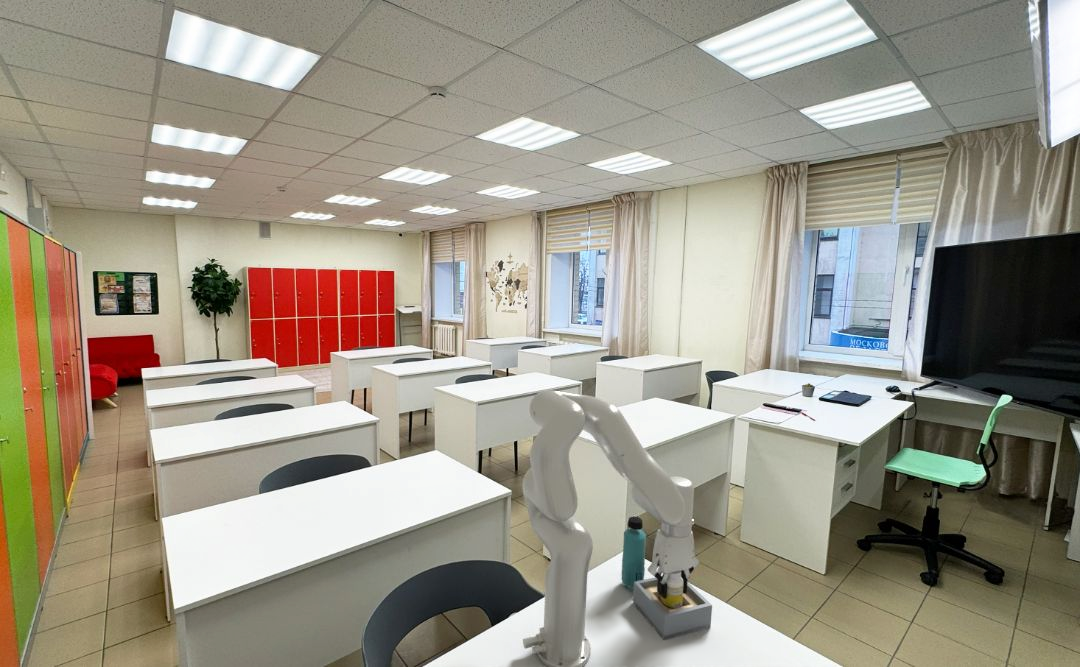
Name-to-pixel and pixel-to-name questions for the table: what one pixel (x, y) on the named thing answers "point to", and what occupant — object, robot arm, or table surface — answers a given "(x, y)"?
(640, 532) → the beverage bottle
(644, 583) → the box
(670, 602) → the supplement bottle
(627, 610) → the table surface
